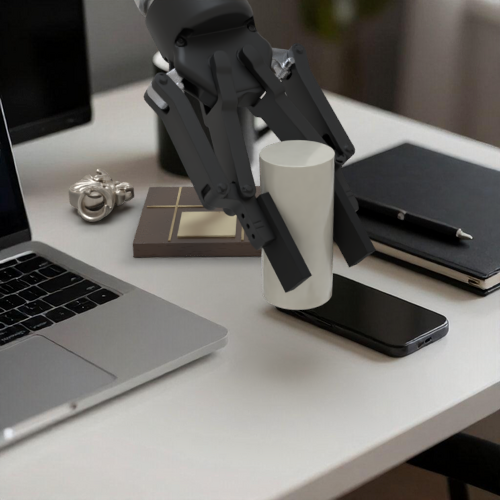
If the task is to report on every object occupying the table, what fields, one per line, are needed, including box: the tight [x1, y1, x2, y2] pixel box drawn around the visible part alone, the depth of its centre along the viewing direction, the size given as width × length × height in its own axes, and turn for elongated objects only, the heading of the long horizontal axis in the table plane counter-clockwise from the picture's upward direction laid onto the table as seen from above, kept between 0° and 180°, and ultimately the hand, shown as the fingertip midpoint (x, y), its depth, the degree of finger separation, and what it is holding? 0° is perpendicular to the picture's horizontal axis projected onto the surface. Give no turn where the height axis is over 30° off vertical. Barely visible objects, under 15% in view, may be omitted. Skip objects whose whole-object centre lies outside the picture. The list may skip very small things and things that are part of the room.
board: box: [132, 185, 261, 258], centre depth 95 cm, size 14×14×2 cm
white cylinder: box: [258, 140, 335, 311], centre depth 66 cm, size 5×5×11 cm
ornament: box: [68, 167, 135, 223], centre depth 98 cm, size 8×7×4 cm
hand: (330, 270), depth 64 cm, fingers closed on white cylinder, 5 cm apart
